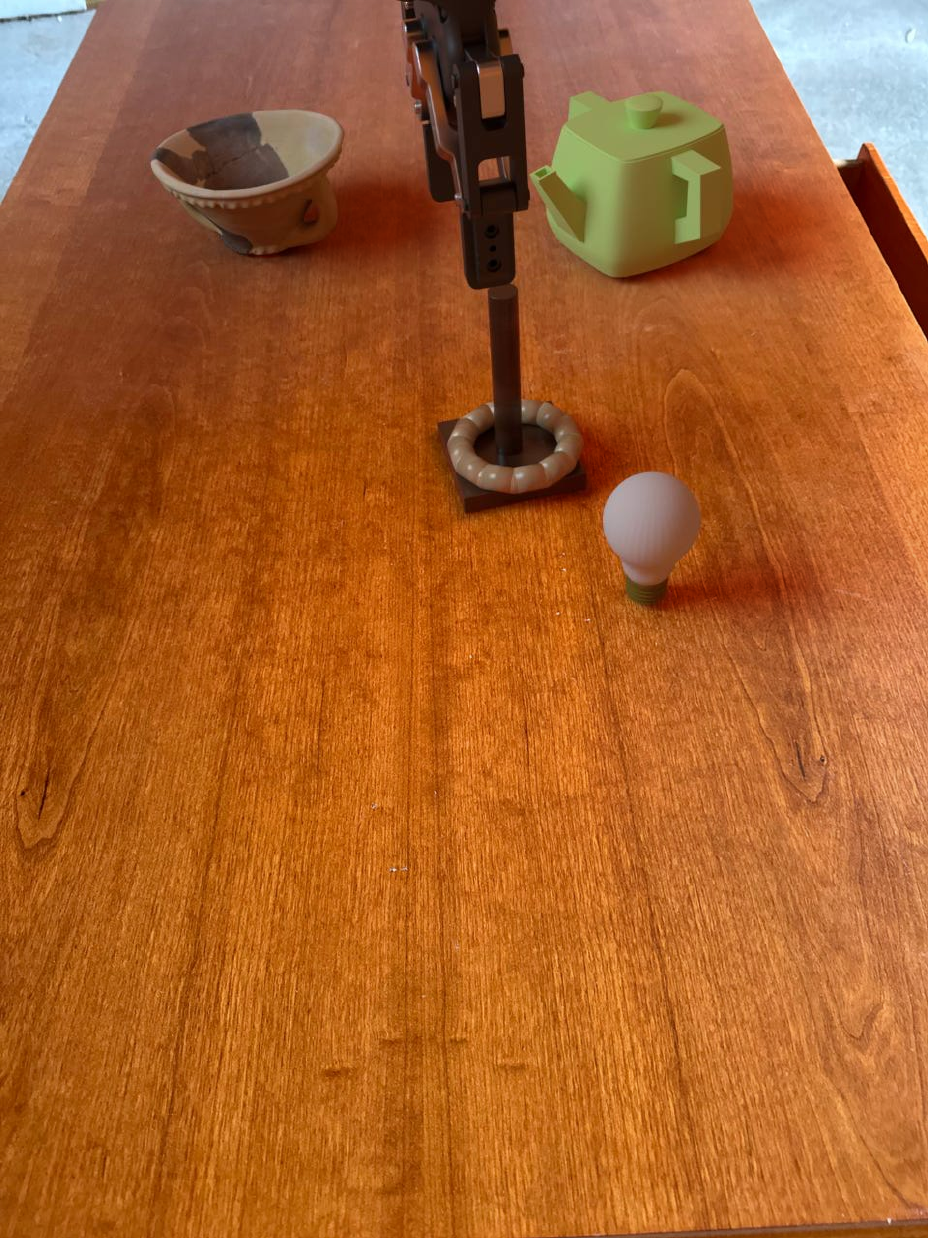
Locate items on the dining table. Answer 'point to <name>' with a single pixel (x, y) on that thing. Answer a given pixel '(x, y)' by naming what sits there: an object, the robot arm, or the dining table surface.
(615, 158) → the teapot
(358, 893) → the dining table surface
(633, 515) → the light bulb
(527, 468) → the beige segmented ring
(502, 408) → the stand
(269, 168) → the bowl
